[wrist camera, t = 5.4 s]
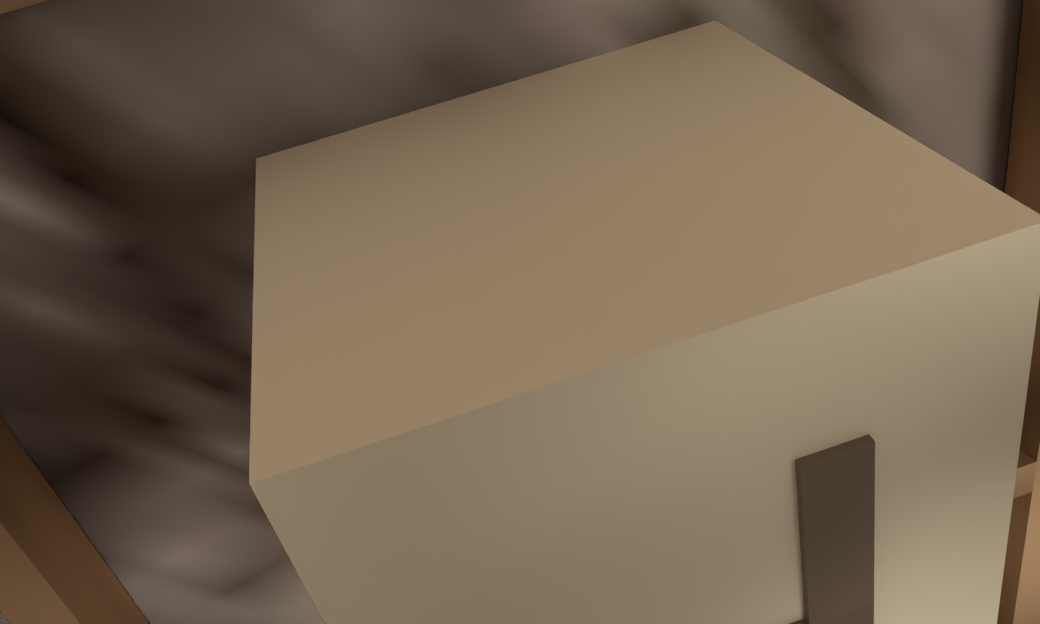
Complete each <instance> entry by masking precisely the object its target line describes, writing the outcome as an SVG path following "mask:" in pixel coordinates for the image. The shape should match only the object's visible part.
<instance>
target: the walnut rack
mask: <svg viewBox="0 0 1040 624" xmlns="http://www.w3.org/2000/svg"><path fill="white" fill-rule="evenodd" d="M45 1H49V0H0V14H2V13H6V12H10V11H13V10H17V9H20V8H24V7H27V6H31V5H34V4H38V3H41V2H45ZM1005 194H1007V195H1008V196H1010V197H1012V198H1013V199H1015V200H1017V201H1018V202H1020V203H1022V204H1023V205H1025V206H1027V207H1028V208H1030V209H1032V210H1034V211H1035V212H1037V213H1039V214H1040V0H1024V2H1023V12H1022V22H1021V32H1020V43H1019V53H1018V63H1017V74H1016V84H1015V94H1014V104H1013V115H1012V125H1011V135H1010V145H1009V156H1008V166H1007V176H1006V187H1005ZM0 612H1V613H2V614H3V615H4V617H5V618H6V619H7V620H8V621H9V622H10V624H149V623H148V621H147V620H146V618H145V617H144V616H143V614H142V613H141V611H140V610H139V609H138V607H137V606H136V604H135V603H134V602H133V600H132V599H131V598H130V596H129V595H128V593H127V592H126V591H125V589H124V588H123V586H122V585H121V584H120V582H119V581H118V579H117V578H116V577H115V575H114V574H113V573H112V571H111V570H110V568H109V567H108V566H107V564H106V563H105V561H104V560H103V559H102V557H101V556H100V555H99V553H98V552H97V550H96V549H95V548H94V546H93V545H92V543H91V542H90V541H89V539H88V538H87V536H86V535H85V534H84V532H83V531H82V530H81V528H80V527H79V525H78V524H77V523H76V521H75V520H74V518H73V517H72V516H71V514H70V513H69V511H68V510H67V509H66V507H65V506H64V505H63V503H62V502H61V500H60V499H59V498H58V496H57V495H56V493H55V492H54V491H53V489H52V488H51V486H50V485H49V484H48V482H47V481H46V480H45V478H44V477H43V475H42V474H41V473H40V471H39V470H38V468H37V467H36V466H35V464H34V463H33V462H32V460H31V459H30V457H29V456H28V455H27V453H26V452H25V450H24V449H23V448H22V446H21V445H20V443H19V442H18V441H17V439H16V438H15V437H14V435H13V434H12V432H11V431H10V430H9V428H8V427H7V425H6V424H5V423H4V421H3V420H2V418H1V417H0ZM997 624H1040V296H1039V304H1038V312H1037V319H1036V327H1035V335H1034V342H1033V350H1032V358H1031V365H1030V373H1029V381H1028V388H1027V396H1026V404H1025V411H1024V419H1023V427H1022V434H1021V442H1020V450H1019V457H1018V465H1017V473H1016V480H1015V488H1014V496H1013V503H1012V511H1011V519H1010V526H1009V534H1008V542H1007V549H1006V557H1005V565H1004V572H1003V580H1002V588H1001V595H1000V603H999V611H998V618H997Z"/></svg>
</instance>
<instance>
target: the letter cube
mask: <svg viewBox="0 0 1040 624" xmlns="http://www.w3.org/2000/svg"><path fill="white" fill-rule="evenodd" d="M1039 296H1040V214H1039V213H1037V212H1035V211H1034V210H1032V209H1030V208H1028V207H1027V206H1025V205H1023V204H1022V203H1020V202H1018V201H1017V200H1015V199H1013V198H1012V197H1010V196H1008V195H1007V194H1005V193H1003V192H1002V191H1000V190H998V189H997V188H995V187H993V186H992V185H990V184H988V183H987V182H985V181H983V180H982V179H980V178H978V177H977V176H975V175H973V174H972V173H970V172H968V171H967V170H965V169H963V168H962V167H960V166H958V165H957V164H955V163H953V162H952V161H950V160H948V159H947V158H945V157H943V156H942V155H940V154H938V153H937V152H935V151H933V150H932V149H930V148H928V147H926V146H925V145H923V144H921V143H920V142H918V141H916V140H915V139H913V138H911V137H910V136H908V135H906V134H905V133H903V132H901V131H900V130H898V129H896V128H895V127H893V126H891V125H890V124H888V123H886V122H885V121H883V120H881V119H880V118H878V117H876V116H875V115H873V114H871V113H870V112H868V111H866V110H865V109H863V108H861V107H860V106H858V105H856V104H855V103H853V102H851V101H850V100H848V99H846V98H845V97H843V96H841V95H840V94H838V93H836V92H835V91H833V90H831V89H830V88H828V87H826V86H824V85H823V84H821V83H819V82H818V81H816V80H814V79H813V78H811V77H809V76H808V75H806V74H804V73H803V72H801V71H799V70H798V69H796V68H794V67H793V66H791V65H789V64H788V63H786V62H784V61H783V60H781V59H779V58H778V57H776V56H774V55H773V54H771V53H769V52H768V51H766V50H764V49H763V48H761V47H759V46H758V45H756V44H754V43H753V42H751V41H749V40H748V39H746V38H744V37H743V36H741V35H739V34H738V33H736V32H734V31H733V30H731V29H729V28H728V27H726V26H724V25H722V24H721V23H719V22H717V21H716V20H715V21H711V22H708V23H705V24H702V25H698V26H695V27H692V28H688V29H685V30H682V31H678V32H675V33H672V34H668V35H665V36H662V37H658V38H655V39H652V40H648V41H645V42H642V43H638V44H635V45H632V46H628V47H625V48H622V49H618V50H615V51H612V52H608V53H605V54H602V55H598V56H595V57H592V58H589V59H585V60H582V61H579V62H575V63H572V64H569V65H565V66H562V67H559V68H555V69H552V70H549V71H545V72H542V73H539V74H535V75H532V76H529V77H525V78H522V79H519V80H515V81H512V82H509V83H505V84H502V85H499V86H495V87H492V88H489V89H486V90H482V91H479V92H476V93H472V94H469V95H466V96H462V97H459V98H456V99H452V100H449V101H446V102H442V103H439V104H436V105H432V106H429V107H426V108H422V109H419V110H416V111H412V112H409V113H406V114H402V115H399V116H396V117H392V118H389V119H386V120H383V121H379V122H376V123H373V124H369V125H366V126H363V127H359V128H356V129H353V130H349V131H346V132H343V133H339V134H336V135H333V136H329V137H326V138H323V139H319V140H316V141H313V142H309V143H306V144H303V145H299V146H296V147H293V148H289V149H286V150H283V151H280V152H276V153H273V154H270V155H266V156H263V157H260V158H256V187H255V233H254V279H253V325H252V371H251V417H250V463H249V485H250V486H251V488H252V490H253V492H254V494H255V496H256V497H257V499H258V501H259V503H260V505H261V507H262V508H263V510H264V512H265V514H266V516H267V518H268V520H269V521H270V523H271V525H272V527H273V529H274V531H275V532H276V534H277V536H278V538H279V540H280V542H281V543H282V545H283V547H284V549H285V551H286V553H287V554H288V556H289V558H290V560H291V562H292V564H293V566H294V567H295V569H296V571H297V573H298V575H299V577H300V578H301V580H302V582H303V584H304V586H305V588H306V589H307V591H308V593H309V595H310V597H311V599H312V600H313V602H314V604H315V606H316V608H317V610H318V611H319V613H320V615H321V617H322V619H323V621H324V623H325V624H997V618H998V611H999V603H1000V595H1001V588H1002V580H1003V572H1004V565H1005V557H1006V549H1007V542H1008V534H1009V526H1010V519H1011V511H1012V503H1013V496H1014V488H1015V480H1016V473H1017V465H1018V457H1019V450H1020V442H1021V434H1022V427H1023V419H1024V411H1025V404H1026V396H1027V388H1028V381H1029V373H1030V365H1031V358H1032V350H1033V342H1034V335H1035V327H1036V319H1037V312H1038V304H1039Z"/></svg>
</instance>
